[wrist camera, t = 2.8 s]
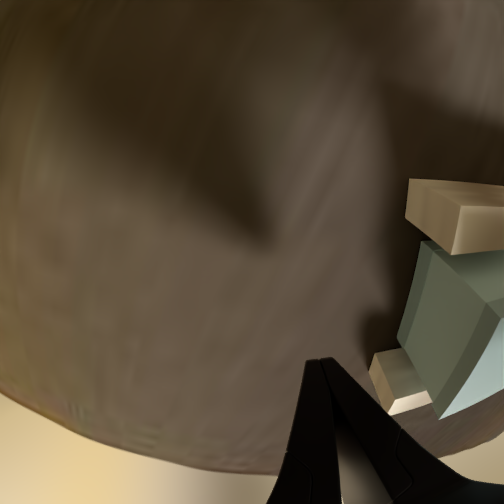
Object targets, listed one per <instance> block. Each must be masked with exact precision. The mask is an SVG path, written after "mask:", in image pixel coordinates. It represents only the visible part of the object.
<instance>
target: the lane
mask: <svg viewBox="0 0 504 504" xmlns="http://www.w3.org/2000/svg"><path fill="white" fill-rule="evenodd" d="M405 218H406V219H407V220H408V221H410V222H411V223H412V224H413V225H415V226H416V227H417V228H419V229H420V230H421V231H422V232H424V233H425V234H426V235H427V236H429V237H430V238H431V239H432V240H433V241H435V242H436V243H437V244H438V245H440V246H441V247H442V248H443V249H444V250H445V251H447V252H448V253H449V254H450V255H457V254H466V253H475V252H484V251H493V250H501V249H504V186H498V185H489V184H480V183H469V182H458V181H445V180H429V179H410V178H409V186H408V196H407V205H406V213H405ZM369 374H370V377H371V379H372V382H373V385H374V387H375V390H376V392H377V395H378V397H379V400H380V403H381V405H382V408H383V409H384V410H385V411H386V412H387V413H388V414H389V415H394V414H397V413H401V412H404V411H407V410H411V409H414V408H417V407H420V406H423V405H426V404H429V403H432V400H431V398H430V396H429V394H428V392H427V390H426V388H425V386H424V384H423V383H422V381H421V379H420V377H419V375H418V373H417V371H416V369H415V367H414V365H413V364H412V362H411V360H410V358H409V356H408V354H407V353H406V351H405V349H403V348H398V349H393V350H388V351H383V352H378V353H375V354H374V357H373V360H372V363H371V366H370V369H369Z"/></svg>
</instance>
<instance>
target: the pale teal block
mask: <svg viewBox="0 0 504 504" xmlns="http://www.w3.org/2000/svg"><path fill="white" fill-rule="evenodd" d="M397 339H398V341H399V343H400V345H401V347H402V348H403V349H405V351H406V353H407V354H408V356H409V358H410V360H411V362H412V364H413V365H414V367H415V369H416V371H417V373H418V375H419V377H420V379H421V381H422V383H423V384H424V386H425V388H426V390H427V392H428V394H429V396H430V398H431V400H432V402H433V404H432V406H433V409H434V411H435V413H436V415H437V417H438V419H442V418H444V417H446V416H449V415H451V414H453V413H456V412H458V411H460V410H462V409H465V408H467V407H469V406H471V405H473V404H475V403H477V402H479V401H481V400H483V399H485V398H487V397H489V396H491V395H492V394H494V393H496V392H498V391H500V390H501V389H503V388H504V249H501V250H493V251H484V252H475V253H466V254H457V255H450V254H449V253H448V252H447V251H445V250H444V249H443V248H442V247H441V246H440V245H438V244H437V243H436V242H435V241H433V240H431V241H421V246H420V251H419V256H418V260H417V265H416V269H415V274H414V278H413V282H412V286H411V290H410V293H409V297H408V301H407V304H406V308H405V311H404V315H403V318H402V321H401V324H400V328H399V331H398V334H397Z"/></svg>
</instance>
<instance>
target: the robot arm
mask: <svg viewBox="0 0 504 504" xmlns="http://www.w3.org/2000/svg"><path fill="white" fill-rule="evenodd" d="M341 494H342V498H343V502H344V504H504V485H502V484H494V483H486V482H479V481H474V480H471V479H468V478H465V477H463V476H461V475H460V474H458V473H457V472H455V471H454V470H453V469H451V468H450V467H448V466H447V465H445V464H444V463H443V462H441V461H440V460H439V459H437V458H436V457H435V456H433V455H432V454H431V453H430V452H428V451H427V450H426V449H425V448H423V447H422V446H421V445H420V444H419V443H418V442H416V441H415V440H414V439H413V438H412V437H411V436H410V435H409V434H408V433H407V432H406V431H405V430H404V429H403V428H402V429H401V426H400V425H399V424H398V423H397V422H396V421H395V420H394V419H393V418H392V417H391V416H390V415H389V414H388V413H387V412H386V411H385V410H384V409H383V408H382V407H381V406H380V405H379V404H378V403H377V402H376V401H375V400H374V399H373V398H372V397H371V396H370V395H369V394H368V393H367V392H366V391H365V390H364V389H363V388H362V387H361V386H360V385H359V384H358V383H357V382H356V381H355V380H354V379H353V378H352V377H351V376H350V375H349V374H348V373H347V371H346V370H345V369H344V368H343V367H342V366H341V365H340V364H339V363H338V362H337V361H336V360H335V359H334V358H332V357H327V358H321V359H311V360H307V361H306V362H305V368H304V373H303V378H302V383H301V388H300V392H299V397H298V402H297V406H296V411H295V415H294V420H293V424H292V428H291V432H290V436H289V440H288V444H287V448H286V453H285V456H284V459H283V463H282V466H281V469H280V473H279V476H278V479H277V481H276V484H275V486H274V488H273V490H272V493H271V495H270V497H269V499H268V501H267V503H266V504H342V500H341Z"/></svg>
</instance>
